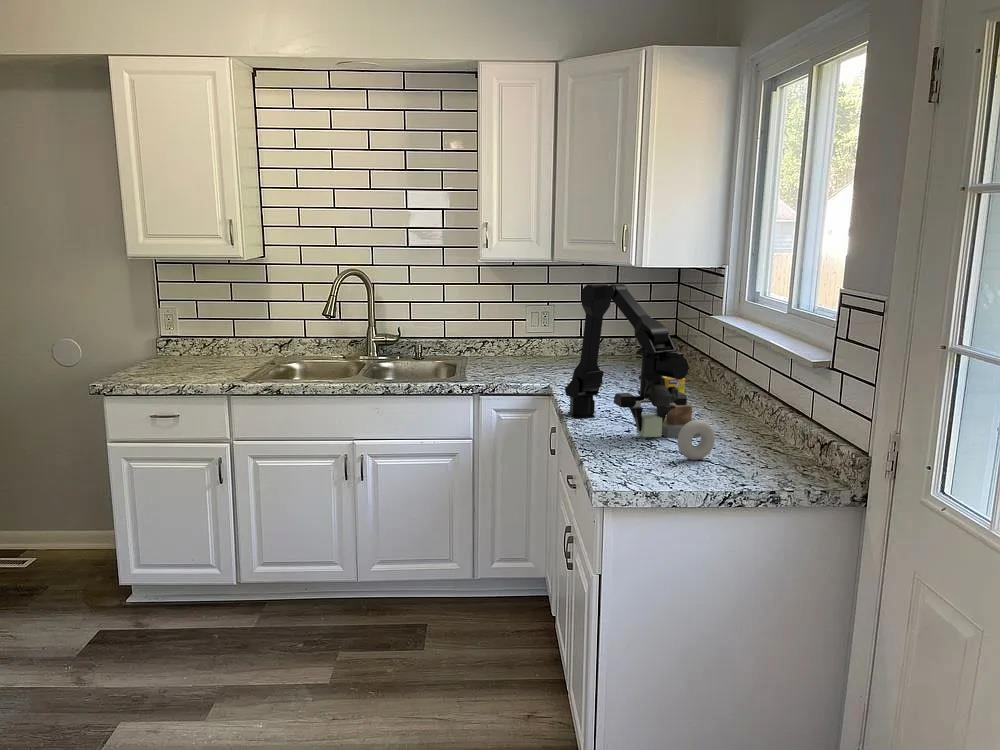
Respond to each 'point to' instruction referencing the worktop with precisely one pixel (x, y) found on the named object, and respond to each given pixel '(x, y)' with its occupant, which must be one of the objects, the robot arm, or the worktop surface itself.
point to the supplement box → (675, 383)
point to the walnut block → (680, 414)
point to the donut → (705, 442)
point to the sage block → (651, 426)
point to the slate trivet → (672, 429)
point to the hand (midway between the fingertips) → (649, 430)
